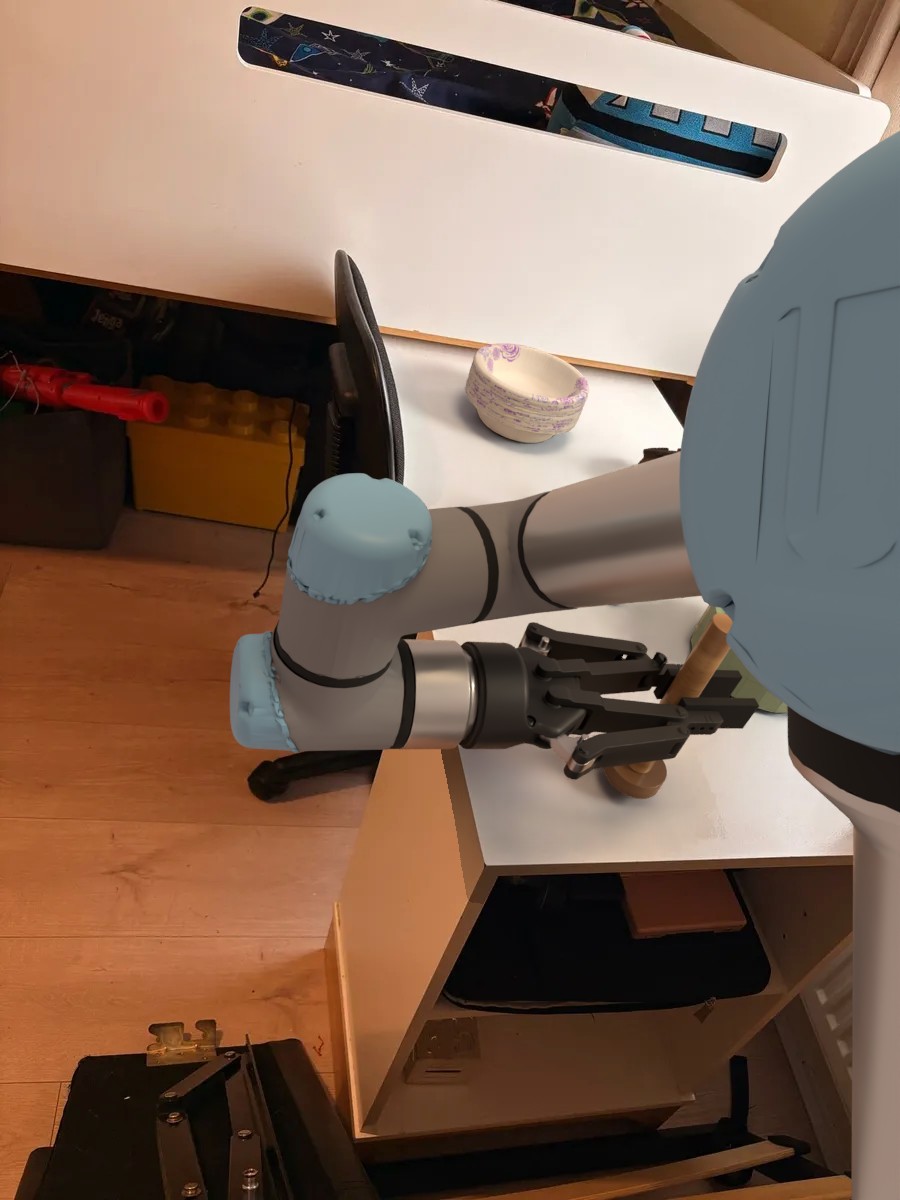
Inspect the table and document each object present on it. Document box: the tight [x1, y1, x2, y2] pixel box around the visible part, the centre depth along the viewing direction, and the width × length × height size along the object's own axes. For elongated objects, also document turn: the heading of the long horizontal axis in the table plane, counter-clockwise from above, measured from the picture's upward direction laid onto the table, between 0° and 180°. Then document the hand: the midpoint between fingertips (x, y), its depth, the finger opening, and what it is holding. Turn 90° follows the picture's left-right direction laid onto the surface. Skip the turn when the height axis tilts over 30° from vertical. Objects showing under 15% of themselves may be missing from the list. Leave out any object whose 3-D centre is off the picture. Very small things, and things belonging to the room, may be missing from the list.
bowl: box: [690, 604, 788, 714], centre depth 90 cm, size 13×13×6 cm
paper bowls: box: [464, 342, 590, 444], centre depth 115 cm, size 15×15×8 cm
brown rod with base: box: [602, 613, 733, 800], centre depth 69 cm, size 5×5×18 cm
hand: (740, 699), depth 70 cm, fingers closed on brown rod with base, 2 cm apart
